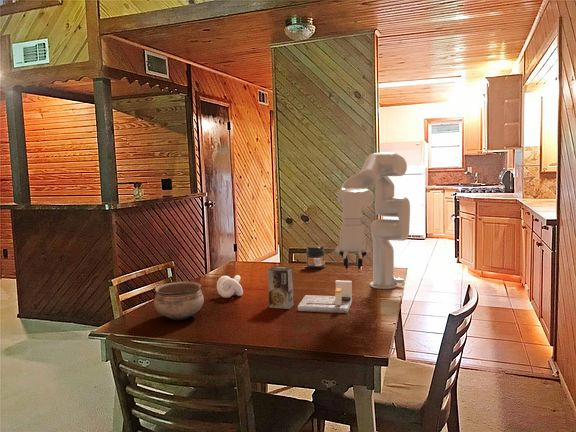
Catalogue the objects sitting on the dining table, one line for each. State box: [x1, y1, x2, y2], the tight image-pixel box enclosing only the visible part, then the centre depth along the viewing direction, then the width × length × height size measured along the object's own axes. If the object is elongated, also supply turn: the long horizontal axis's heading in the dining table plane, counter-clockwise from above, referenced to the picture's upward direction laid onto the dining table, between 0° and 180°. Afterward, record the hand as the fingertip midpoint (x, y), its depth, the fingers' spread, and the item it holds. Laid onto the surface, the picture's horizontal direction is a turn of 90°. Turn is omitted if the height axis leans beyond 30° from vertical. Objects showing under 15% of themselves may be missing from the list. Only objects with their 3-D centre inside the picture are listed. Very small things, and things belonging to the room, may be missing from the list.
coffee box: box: [267, 266, 295, 310], centre depth 197 cm, size 9×6×16 cm
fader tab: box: [334, 287, 342, 305], centre depth 191 cm, size 2×4×6 cm, turn 167°
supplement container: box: [305, 244, 326, 270], centre depth 269 cm, size 10×10×12 cm
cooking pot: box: [153, 281, 205, 321], centre depth 187 cm, size 25×19×12 cm
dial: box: [335, 279, 353, 300], centre depth 199 cm, size 6×6×7 cm
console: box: [297, 294, 353, 314], centre depth 197 cm, size 20×16×2 cm
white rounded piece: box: [216, 274, 244, 299], centre depth 215 cm, size 11×12×9 cm
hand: (353, 267), depth 188 cm, fingers open, 4 cm apart
